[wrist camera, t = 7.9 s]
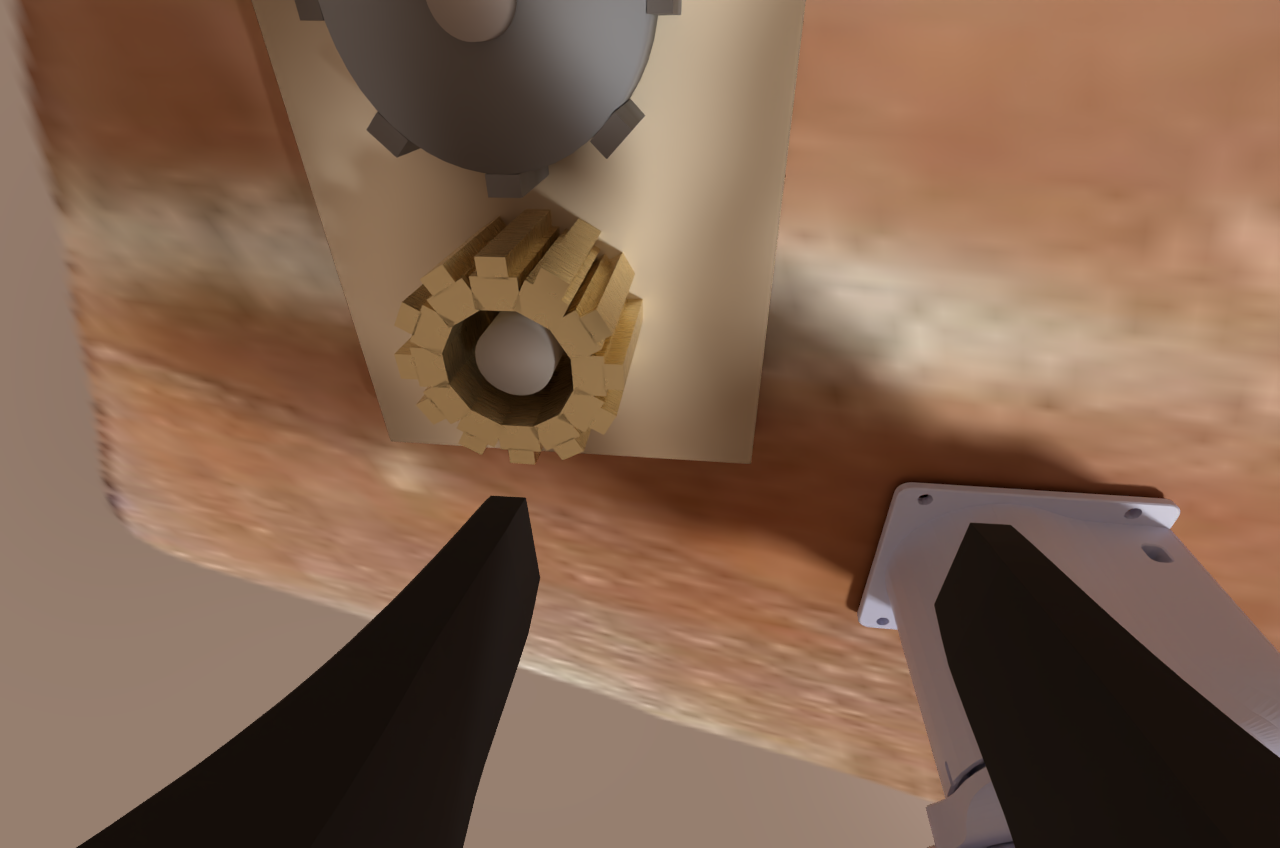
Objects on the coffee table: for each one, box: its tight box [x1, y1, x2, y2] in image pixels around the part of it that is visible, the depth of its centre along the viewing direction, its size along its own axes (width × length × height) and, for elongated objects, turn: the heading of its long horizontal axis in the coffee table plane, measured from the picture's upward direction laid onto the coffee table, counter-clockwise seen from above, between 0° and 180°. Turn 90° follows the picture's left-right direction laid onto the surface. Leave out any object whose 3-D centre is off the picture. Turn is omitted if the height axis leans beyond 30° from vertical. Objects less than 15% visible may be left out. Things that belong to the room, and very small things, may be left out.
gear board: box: [251, 0, 806, 464], centre depth 15 cm, size 13×17×5 cm
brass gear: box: [394, 209, 643, 464], centre depth 16 cm, size 6×6×4 cm
